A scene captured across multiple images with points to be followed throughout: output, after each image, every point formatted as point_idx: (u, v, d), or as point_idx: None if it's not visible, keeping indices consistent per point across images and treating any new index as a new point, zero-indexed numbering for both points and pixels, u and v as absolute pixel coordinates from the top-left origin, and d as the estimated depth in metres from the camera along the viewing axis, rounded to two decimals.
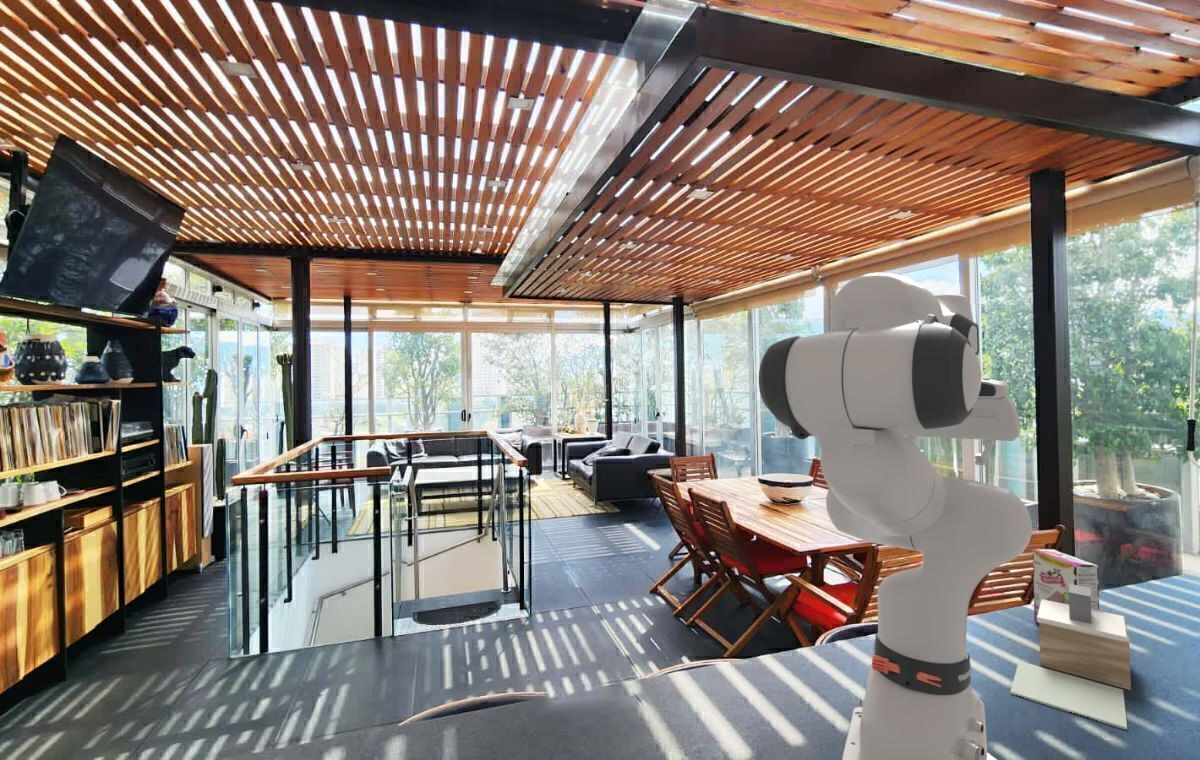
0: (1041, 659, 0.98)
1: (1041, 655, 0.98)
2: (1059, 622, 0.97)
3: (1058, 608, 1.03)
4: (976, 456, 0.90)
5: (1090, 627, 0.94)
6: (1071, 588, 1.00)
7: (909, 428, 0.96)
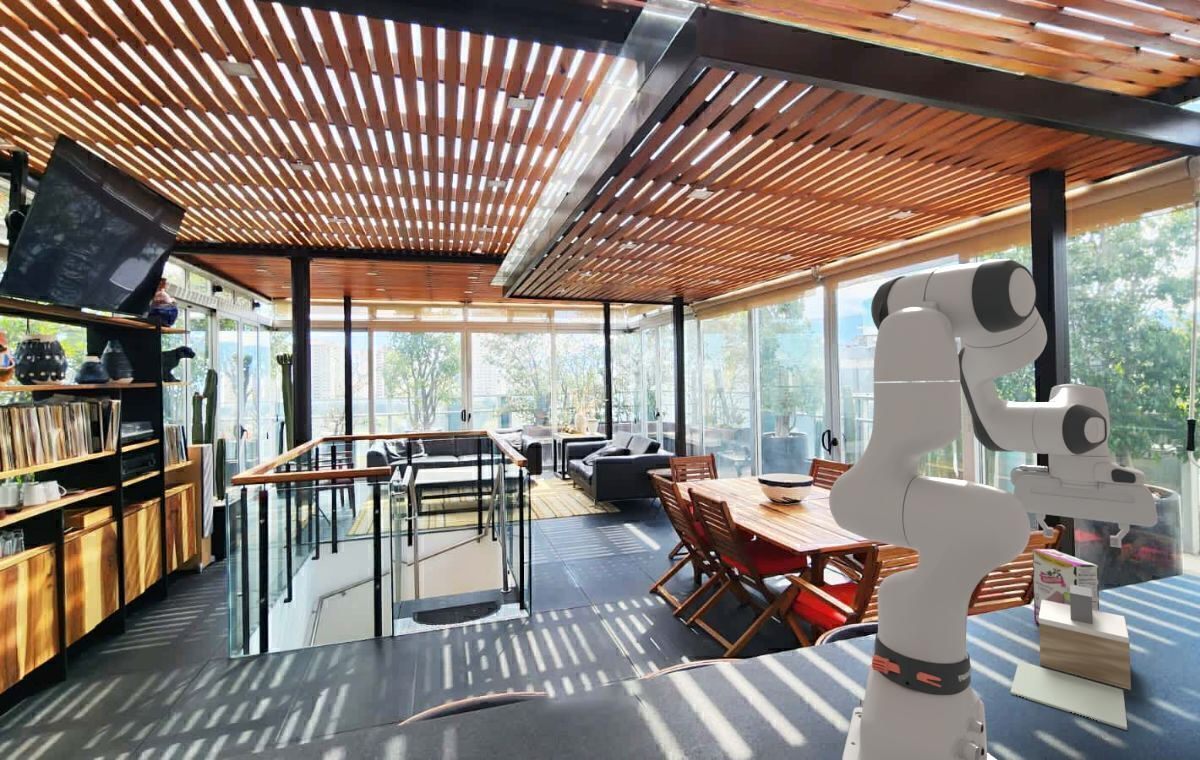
0: (1041, 659, 0.98)
1: (1041, 655, 0.98)
2: (1060, 623, 0.96)
3: (1058, 608, 1.03)
4: (1111, 538, 0.96)
5: (1091, 628, 0.94)
6: (1072, 588, 1.00)
7: (1040, 506, 1.02)
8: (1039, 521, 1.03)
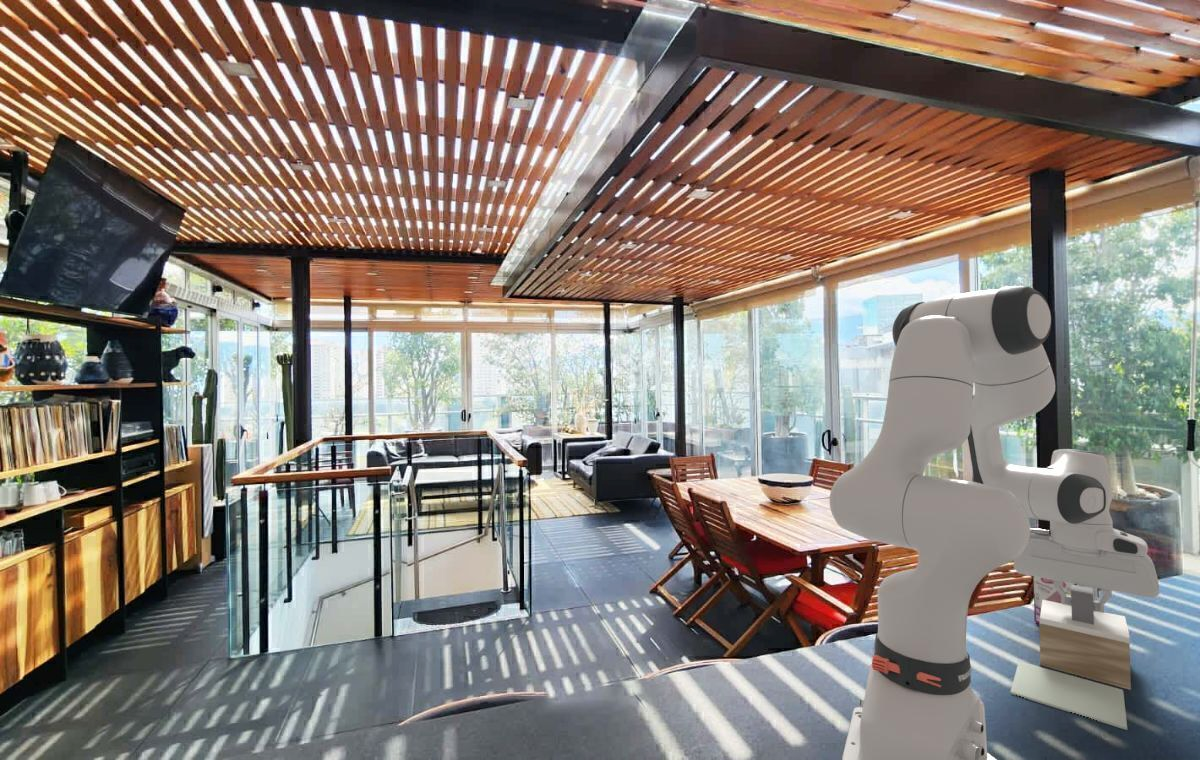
0: (1041, 659, 0.98)
1: (1041, 655, 0.98)
2: (1062, 623, 0.96)
3: (1059, 609, 1.03)
4: (1094, 603, 0.97)
5: (1093, 628, 0.94)
6: (1073, 588, 1.00)
7: (1041, 570, 1.02)
8: (1057, 588, 1.01)
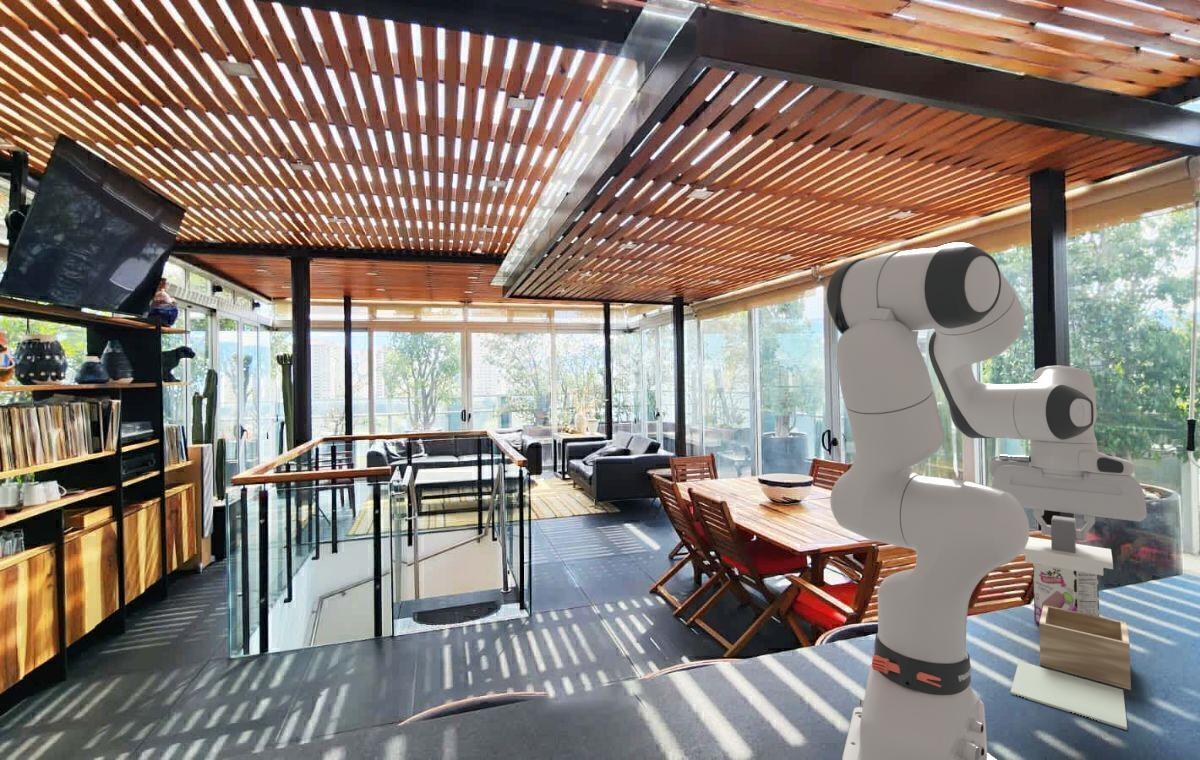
0: (1041, 659, 0.98)
1: (1041, 655, 0.98)
2: (1040, 551, 0.89)
3: (1040, 542, 0.95)
4: (1076, 531, 0.89)
5: (1073, 555, 0.86)
6: (1054, 518, 0.92)
7: (1020, 499, 0.94)
8: (1037, 518, 0.93)
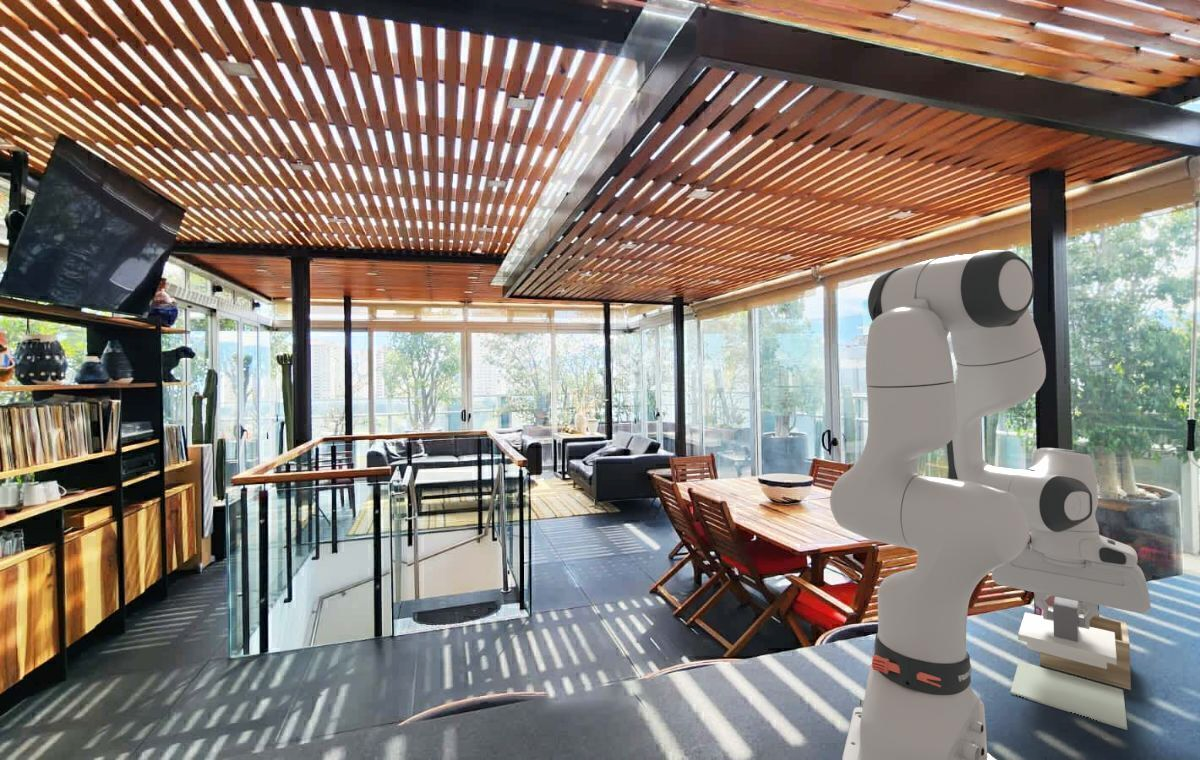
0: (1041, 659, 0.98)
1: (1041, 655, 0.98)
2: (1042, 640, 0.87)
3: (1042, 623, 0.93)
4: (1079, 618, 0.88)
5: (1076, 646, 0.85)
6: (1056, 601, 0.91)
7: (1021, 581, 0.92)
8: (1039, 601, 0.91)
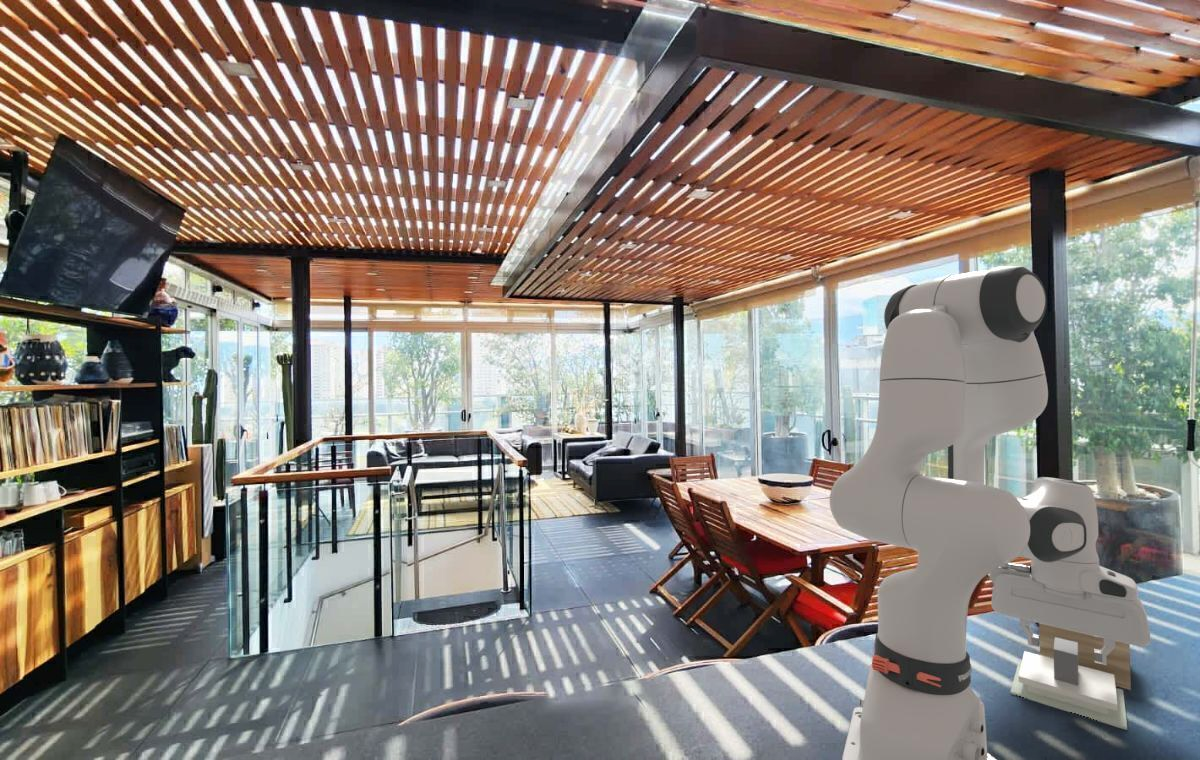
0: None
1: None
2: (1042, 683, 0.87)
3: (1041, 664, 0.93)
4: (1096, 654, 0.86)
5: (1077, 690, 0.84)
6: (1056, 643, 0.90)
7: (1021, 611, 0.92)
8: (1023, 627, 0.92)
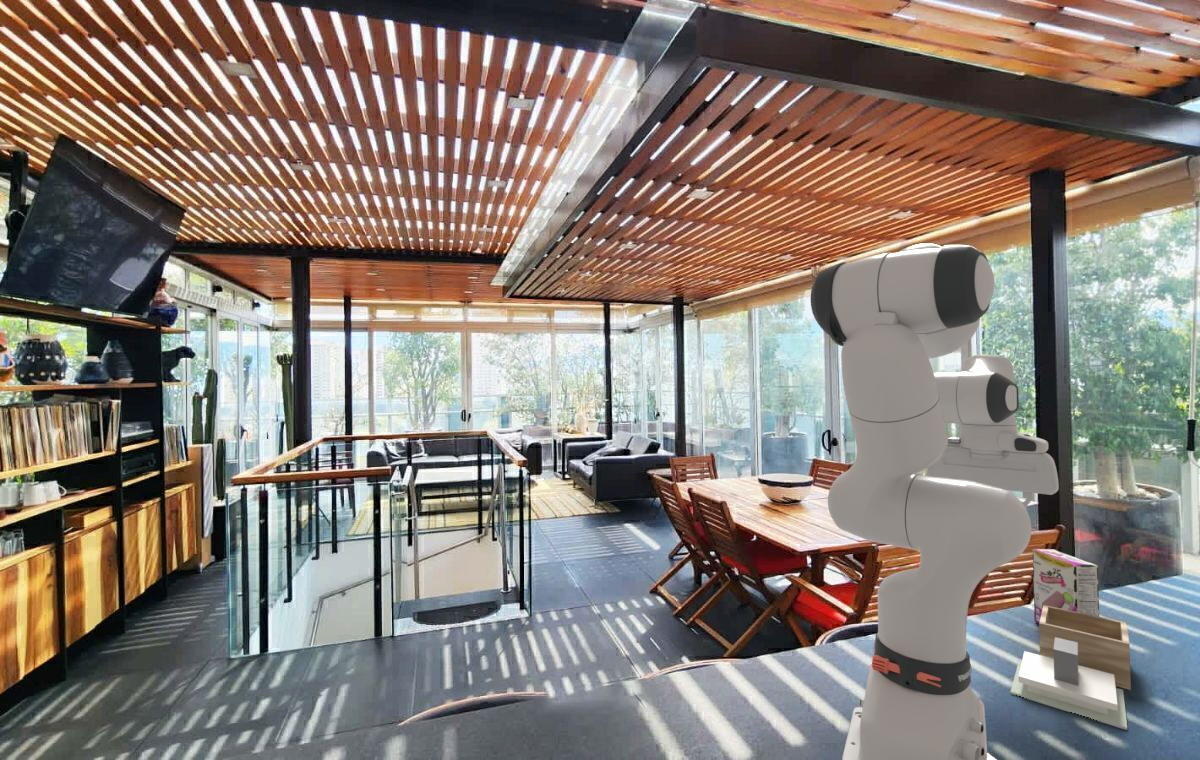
0: None
1: None
2: (1042, 683, 0.87)
3: (1041, 664, 0.93)
4: None
5: (1077, 690, 0.84)
6: (1056, 643, 0.90)
7: (951, 477, 1.03)
8: None
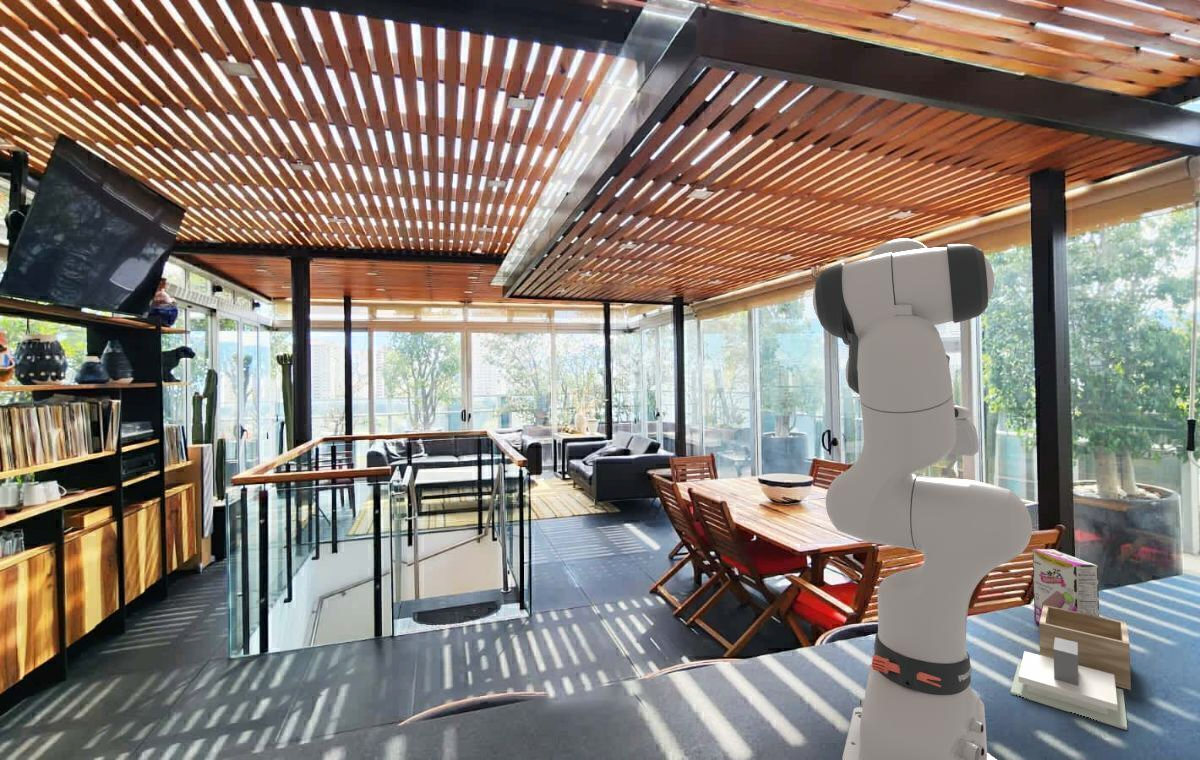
0: None
1: None
2: (1042, 683, 0.87)
3: (1041, 664, 0.93)
4: (943, 468, 1.08)
5: (1077, 690, 0.84)
6: (1056, 643, 0.90)
7: None
8: None
